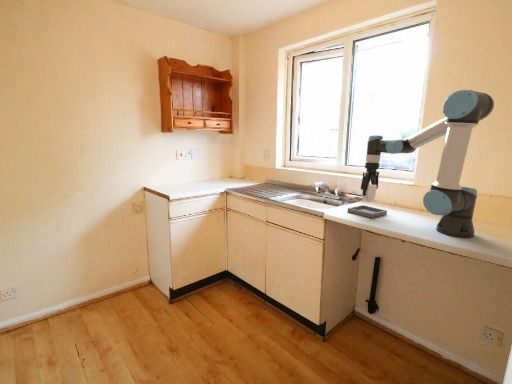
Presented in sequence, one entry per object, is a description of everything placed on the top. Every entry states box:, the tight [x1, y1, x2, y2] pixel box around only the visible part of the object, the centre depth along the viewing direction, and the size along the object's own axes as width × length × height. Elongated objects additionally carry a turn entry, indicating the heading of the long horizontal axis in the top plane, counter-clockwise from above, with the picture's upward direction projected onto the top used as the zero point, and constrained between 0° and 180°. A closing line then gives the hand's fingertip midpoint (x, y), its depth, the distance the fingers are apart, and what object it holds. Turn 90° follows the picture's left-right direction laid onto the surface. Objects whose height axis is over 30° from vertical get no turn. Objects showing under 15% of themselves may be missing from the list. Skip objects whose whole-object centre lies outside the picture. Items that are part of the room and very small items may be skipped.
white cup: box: [361, 183, 377, 203], centre depth 165 cm, size 8×8×10 cm
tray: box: [347, 204, 388, 219], centre depth 167 cm, size 16×16×2 cm
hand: (368, 200), depth 166 cm, fingers closed on white cup, 7 cm apart
